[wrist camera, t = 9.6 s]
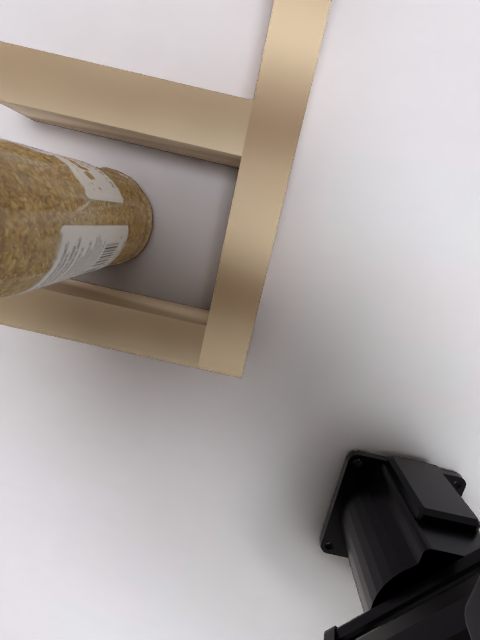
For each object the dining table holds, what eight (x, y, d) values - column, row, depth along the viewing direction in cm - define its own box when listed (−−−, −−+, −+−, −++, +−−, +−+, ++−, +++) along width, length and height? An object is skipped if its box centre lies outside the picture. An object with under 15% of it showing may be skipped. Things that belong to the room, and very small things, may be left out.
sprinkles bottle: (136, 156, 17) (-241, -29, 4) (167, 252, 18) (-63, 332, 5) (48, 184, 18) (-517, 94, 5) (82, 276, 19) (-307, 398, 6)
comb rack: (243, 356, 20) (241, 378, 17) (18, 305, 19) (-25, 318, 16) (352, -106, 15) (376, -188, 12) (59, -177, 15) (11, -277, 12)
